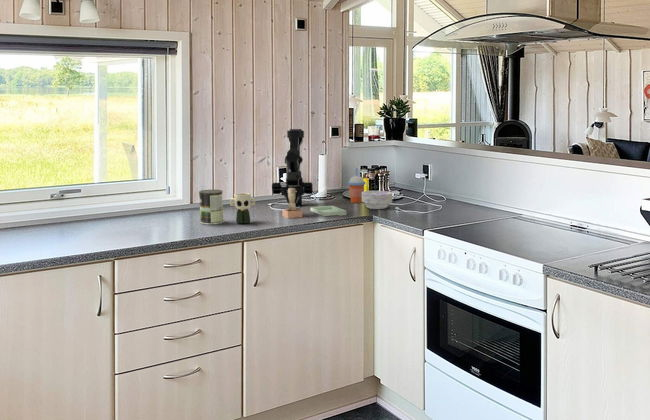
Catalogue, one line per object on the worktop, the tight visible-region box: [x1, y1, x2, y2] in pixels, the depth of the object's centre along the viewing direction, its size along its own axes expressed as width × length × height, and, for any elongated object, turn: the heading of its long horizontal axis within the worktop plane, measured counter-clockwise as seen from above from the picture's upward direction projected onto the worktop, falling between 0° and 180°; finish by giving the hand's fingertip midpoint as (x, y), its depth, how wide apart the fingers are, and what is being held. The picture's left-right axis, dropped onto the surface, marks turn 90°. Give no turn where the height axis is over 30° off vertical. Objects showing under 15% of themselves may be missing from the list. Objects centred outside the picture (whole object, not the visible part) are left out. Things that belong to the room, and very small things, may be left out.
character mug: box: [229, 192, 256, 224], centre depth 278 cm, size 11×7×13 cm, turn 98°
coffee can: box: [198, 189, 225, 226], centre depth 280 cm, size 10×10×14 cm
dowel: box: [287, 188, 297, 212], centre depth 289 cm, size 3×3×13 cm
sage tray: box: [309, 205, 347, 217], centre depth 300 cm, size 16×12×2 cm
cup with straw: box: [347, 167, 366, 204], centre depth 330 cm, size 9×9×18 cm
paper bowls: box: [361, 190, 393, 210], centre depth 313 cm, size 15×15×8 cm
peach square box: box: [281, 208, 303, 219], centre depth 290 cm, size 7×7×4 cm
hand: (291, 202), depth 288 cm, fingers closed on dowel, 3 cm apart
